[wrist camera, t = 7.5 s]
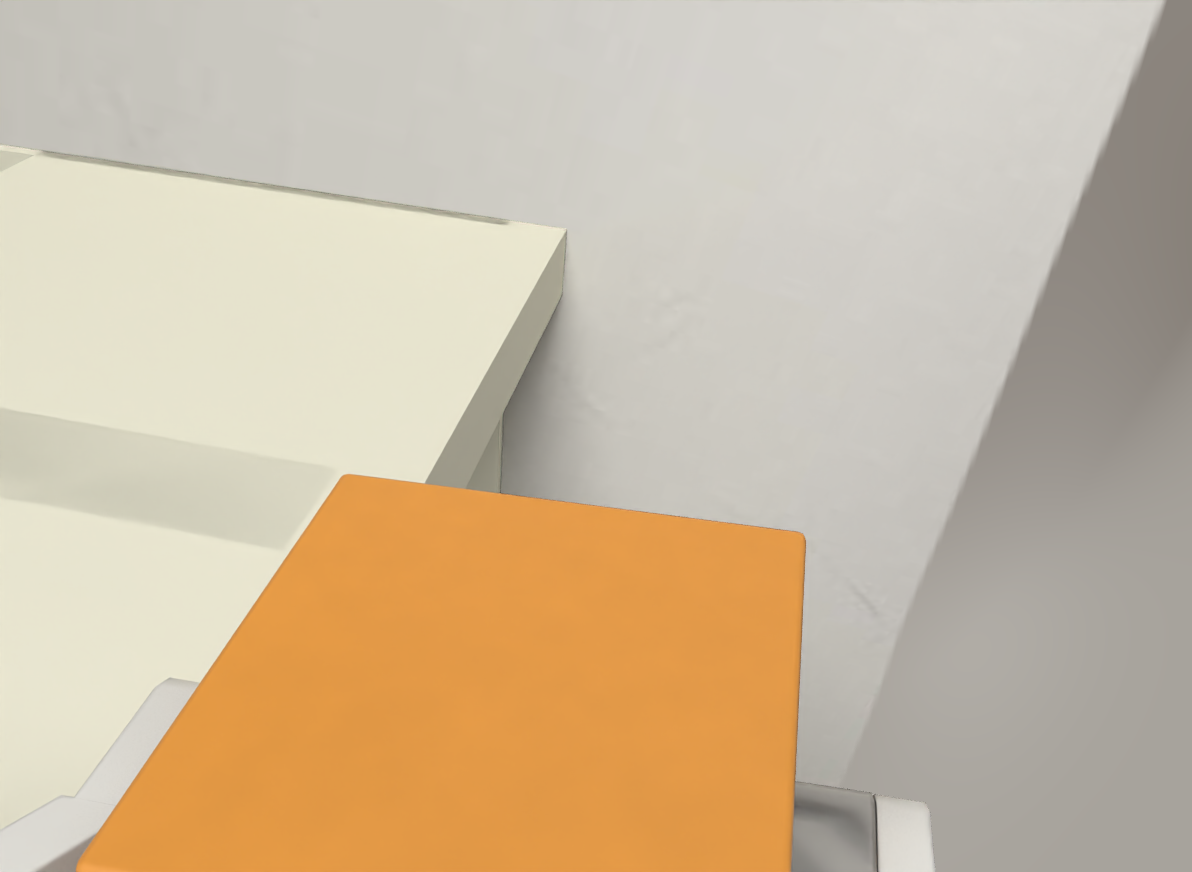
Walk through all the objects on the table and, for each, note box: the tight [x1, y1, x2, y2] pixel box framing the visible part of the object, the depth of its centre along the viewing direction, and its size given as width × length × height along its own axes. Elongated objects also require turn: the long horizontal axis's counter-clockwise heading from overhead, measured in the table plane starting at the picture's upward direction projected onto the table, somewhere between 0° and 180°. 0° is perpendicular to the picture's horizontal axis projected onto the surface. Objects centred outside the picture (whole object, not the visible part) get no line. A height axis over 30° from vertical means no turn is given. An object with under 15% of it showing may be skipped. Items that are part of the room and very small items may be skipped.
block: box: [76, 474, 806, 872], centre depth 11 cm, size 5×5×5 cm
